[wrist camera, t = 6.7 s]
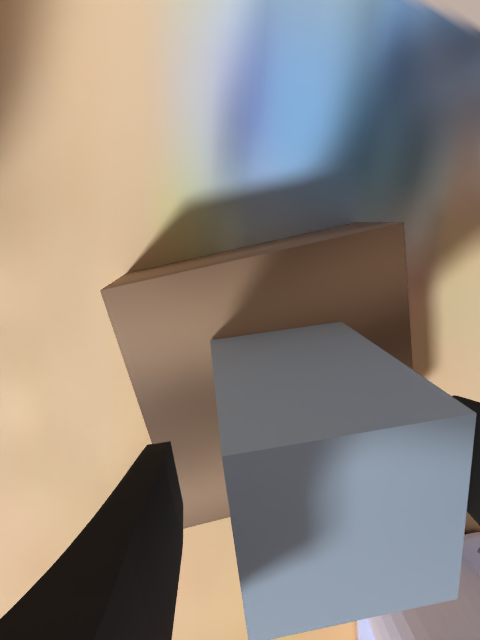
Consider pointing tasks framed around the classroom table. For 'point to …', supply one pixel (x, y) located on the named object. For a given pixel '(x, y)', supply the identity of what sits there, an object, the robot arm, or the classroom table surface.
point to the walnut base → (246, 329)
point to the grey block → (338, 478)
